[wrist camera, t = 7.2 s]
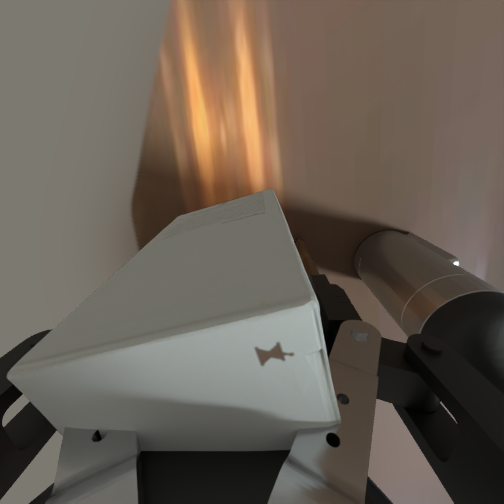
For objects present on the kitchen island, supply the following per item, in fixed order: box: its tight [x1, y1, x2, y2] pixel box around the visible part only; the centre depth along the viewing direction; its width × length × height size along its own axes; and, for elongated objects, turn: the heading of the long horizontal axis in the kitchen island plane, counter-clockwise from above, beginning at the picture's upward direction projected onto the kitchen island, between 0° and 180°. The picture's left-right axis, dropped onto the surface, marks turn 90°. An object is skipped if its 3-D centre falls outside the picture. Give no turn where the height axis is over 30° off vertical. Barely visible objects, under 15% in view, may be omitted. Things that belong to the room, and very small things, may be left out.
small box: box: [7, 189, 341, 451], centre depth 10 cm, size 8×6×10 cm
